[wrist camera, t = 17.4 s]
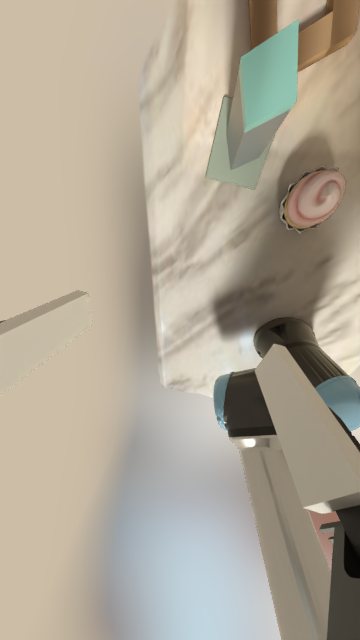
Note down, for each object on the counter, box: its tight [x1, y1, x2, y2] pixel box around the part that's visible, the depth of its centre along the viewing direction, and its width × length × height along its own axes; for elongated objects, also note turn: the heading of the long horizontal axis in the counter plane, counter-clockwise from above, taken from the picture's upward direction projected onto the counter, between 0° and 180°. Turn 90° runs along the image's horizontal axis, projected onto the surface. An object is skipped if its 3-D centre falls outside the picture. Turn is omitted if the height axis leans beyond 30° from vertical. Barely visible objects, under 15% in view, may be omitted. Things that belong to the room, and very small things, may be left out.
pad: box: [206, 97, 275, 190], centre depth 27 cm, size 10×10×1 cm
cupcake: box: [279, 165, 345, 233], centre depth 25 cm, size 9×9×10 cm
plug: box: [226, 19, 299, 170], centre depth 21 cm, size 5×5×13 cm
